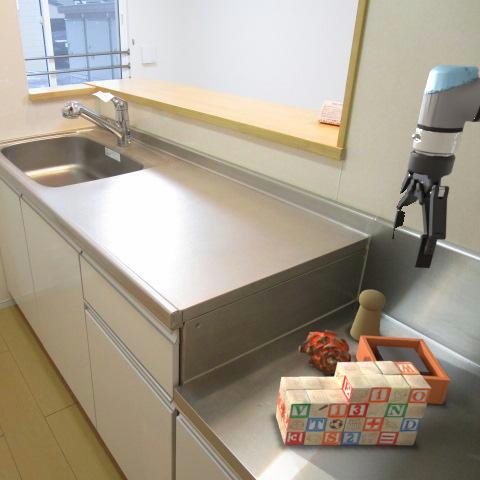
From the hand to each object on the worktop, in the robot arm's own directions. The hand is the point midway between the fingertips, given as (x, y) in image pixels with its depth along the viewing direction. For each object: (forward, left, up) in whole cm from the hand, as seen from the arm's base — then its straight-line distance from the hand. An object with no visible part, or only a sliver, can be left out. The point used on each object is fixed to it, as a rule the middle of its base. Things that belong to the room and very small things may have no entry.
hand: (408, 252), depth 95 cm
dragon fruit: (+18, +14, -20) cm, 30 cm away
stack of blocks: (+18, +31, -20) cm, 41 cm away
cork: (+6, +3, -20) cm, 21 cm away
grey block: (+4, +17, -19) cm, 26 cm away
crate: (+4, +17, -20) cm, 26 cm away
